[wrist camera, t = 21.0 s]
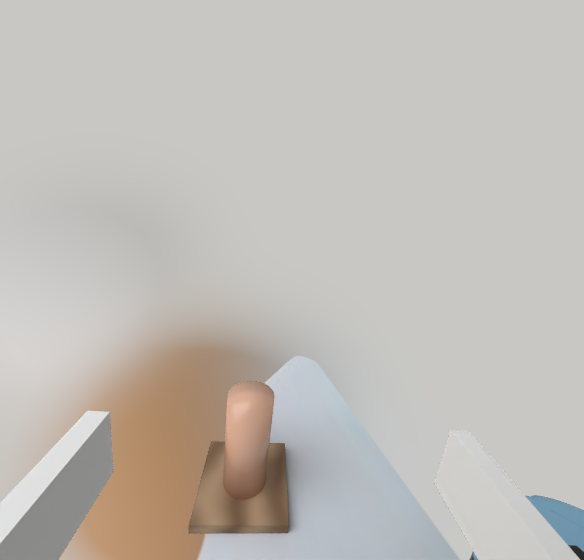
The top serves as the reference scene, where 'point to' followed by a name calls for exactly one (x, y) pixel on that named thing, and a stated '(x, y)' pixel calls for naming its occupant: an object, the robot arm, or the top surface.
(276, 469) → the cutting board
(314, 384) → the top surface
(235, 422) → the terracotta canister
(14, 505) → the robot arm
